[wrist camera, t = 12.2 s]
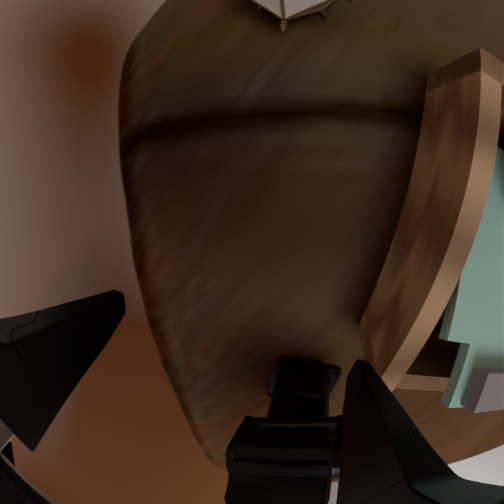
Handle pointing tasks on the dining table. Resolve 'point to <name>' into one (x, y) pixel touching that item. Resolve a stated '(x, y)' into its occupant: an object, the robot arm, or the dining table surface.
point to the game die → (294, 8)
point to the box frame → (436, 224)
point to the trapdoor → (480, 311)
